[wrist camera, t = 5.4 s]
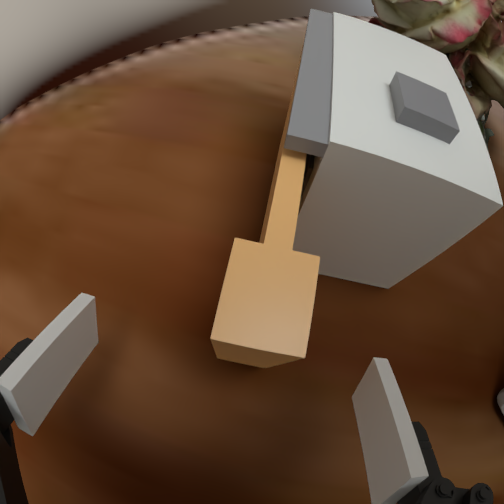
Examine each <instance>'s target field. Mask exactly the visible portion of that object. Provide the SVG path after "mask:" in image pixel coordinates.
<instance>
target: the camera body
mask: <svg viewBox="0 0 504 504" xmlns="http://www.w3.org/2000/svg"><path fill="white" fill-rule="evenodd" d="M284 148H286V149H290V150H294V151H298V152H302V153H306V154H307V156H306V163H305V170H304V177H303V184H302V191H301V198H300V205H299V211H298V218H297V224H296V231H295V237H294V243H293V249H292V250H293V251H298V252H302V253H307V254H311V255H316V256H320V263H319V270H318V274H322V275H326V276H331V277H336V278H340V279H345V280H349V281H354V282H359V283H363V284H368V285H373V286H377V287H382V288H387V289H389V288H390V287H392V286H393V285H395V284H396V283H398V282H399V281H401V280H402V279H404V278H406V277H407V276H409V275H410V274H412V273H413V272H415V271H416V270H418V269H419V268H421V267H422V266H423V265H425V264H426V263H428V262H429V261H431V260H432V259H434V258H435V257H436V256H438V255H439V254H441V253H442V252H444V251H445V250H446V249H448V248H449V247H450V246H452V245H453V244H455V243H456V242H457V241H459V240H460V239H461V238H463V237H464V236H465V235H467V234H468V233H469V232H471V231H472V230H473V229H475V228H476V227H477V226H479V225H480V224H481V223H482V222H484V221H485V220H486V219H488V218H489V217H490V216H491V215H493V214H494V213H495V212H496V211H497V210H499V209H500V208H501V207H502V206H503V202H502V198H501V194H500V190H499V186H498V183H497V179H496V176H495V172H494V169H493V166H492V162H491V159H490V156H489V153H488V150H487V147H486V144H485V141H484V139H483V136H482V133H481V130H480V128H479V125H478V123H477V120H476V118H475V115H474V113H473V110H472V108H471V106H470V103H469V101H468V99H467V96H466V94H465V92H464V90H463V88H462V86H461V84H460V82H459V79H458V77H457V75H456V73H455V71H454V69H453V68H452V66H451V64H450V62H449V60H448V58H447V56H446V55H445V54H443V53H441V52H439V51H437V50H435V49H433V48H431V47H428V46H426V45H424V44H422V43H420V42H417V41H415V40H413V39H410V38H408V37H406V36H403V35H401V34H398V33H396V32H393V31H391V30H388V29H385V28H383V27H380V26H377V25H374V24H371V23H368V22H365V21H362V20H359V19H356V18H353V17H349V16H346V15H343V14H339V13H335V12H334V13H333V14H331V13H327V12H323V11H319V10H315V9H311V10H310V14H309V19H308V24H307V30H306V35H305V40H304V46H303V51H302V56H301V62H300V67H299V72H298V77H297V82H296V88H295V93H294V98H293V103H292V108H291V113H290V118H289V123H288V129H287V134H286V139H285V144H284Z"/></svg>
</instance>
